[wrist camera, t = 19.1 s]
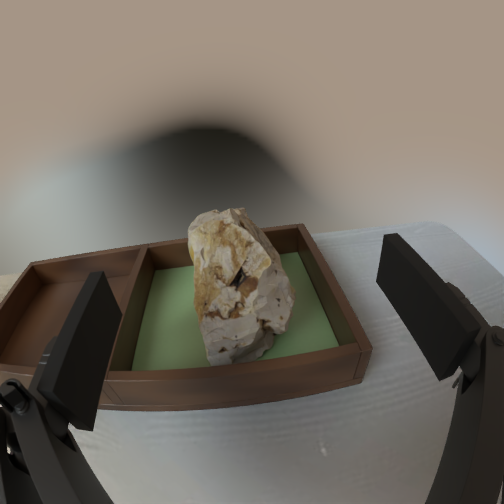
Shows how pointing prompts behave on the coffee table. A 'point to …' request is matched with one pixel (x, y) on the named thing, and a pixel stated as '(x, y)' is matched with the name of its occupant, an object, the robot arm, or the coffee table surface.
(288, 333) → the divided wooden tray
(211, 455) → the coffee table surface
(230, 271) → the rock
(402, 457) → the coffee table surface
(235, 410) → the coffee table surface
